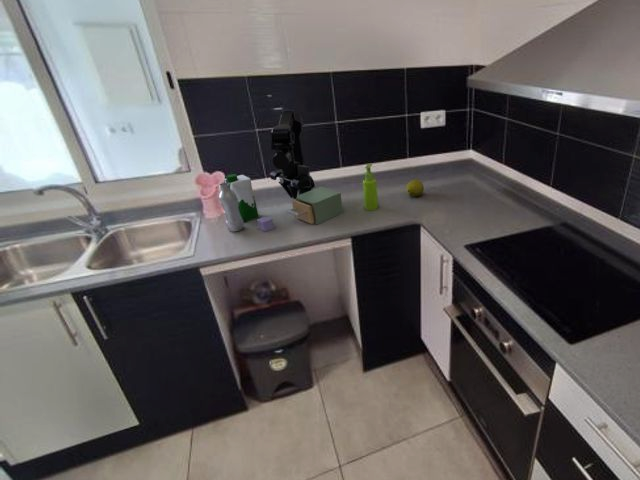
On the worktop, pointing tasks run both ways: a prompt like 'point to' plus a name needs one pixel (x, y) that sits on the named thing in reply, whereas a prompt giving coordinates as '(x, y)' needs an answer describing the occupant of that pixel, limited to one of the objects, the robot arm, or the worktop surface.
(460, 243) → the worktop surface
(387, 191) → the worktop surface
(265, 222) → the purple cube
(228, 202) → the plastic bottle
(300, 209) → the drawer
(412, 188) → the lemon
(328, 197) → the green drawer box
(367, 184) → the soap dispenser
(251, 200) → the milk carton
